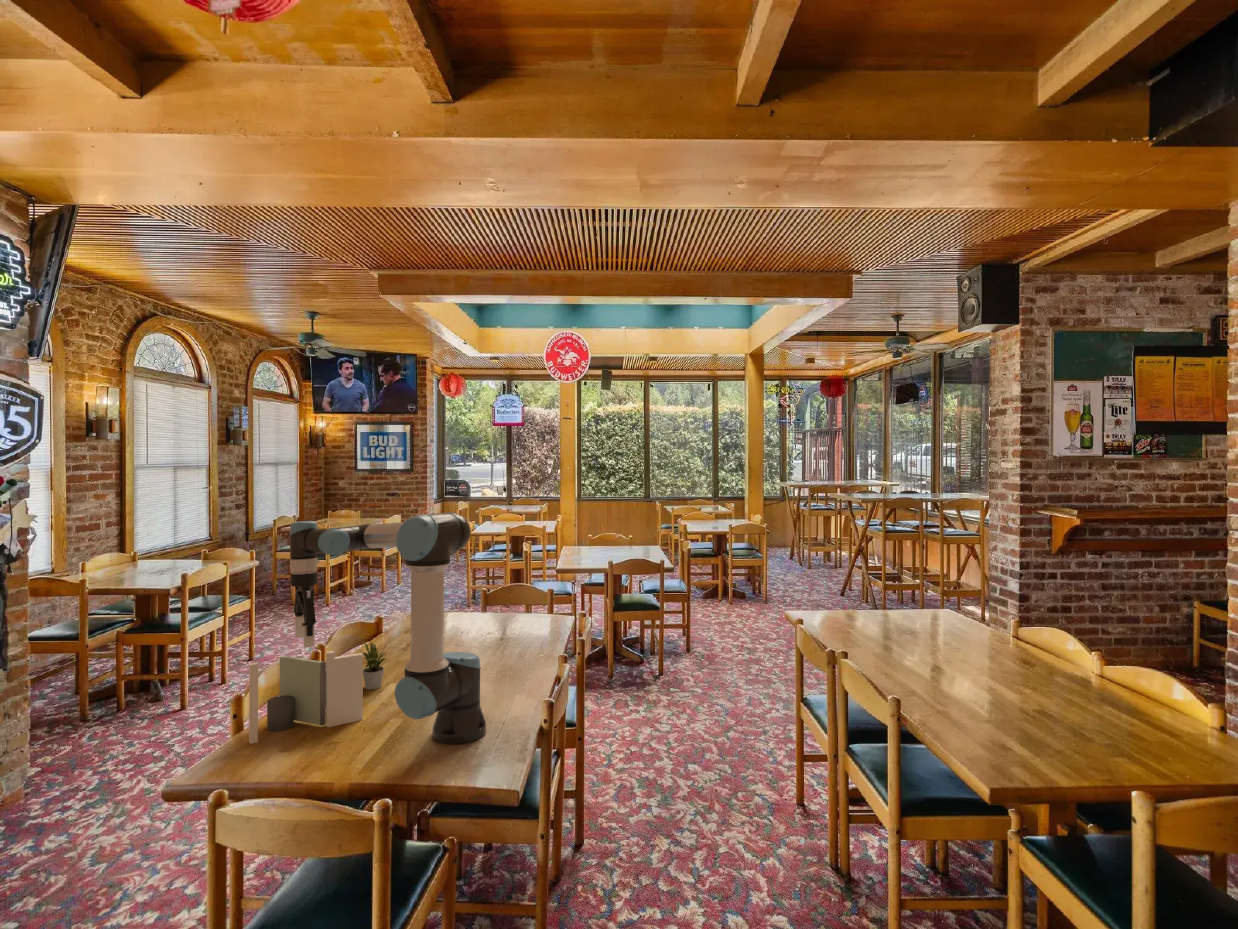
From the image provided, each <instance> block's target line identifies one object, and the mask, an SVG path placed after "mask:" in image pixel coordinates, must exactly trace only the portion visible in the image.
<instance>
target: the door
mask: <svg viewBox="0 0 1238 929" xmlns="http://www.w3.org/2000/svg"><path fill="white" fill-rule="evenodd" d="M284 695H289V696H293V697H294V721H297V722H302V723H306V724H313V725H316V726H326V661H321V660H315V659H306V658H299V657H294V656H286V655H282V656H279V696H284Z"/></svg>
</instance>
